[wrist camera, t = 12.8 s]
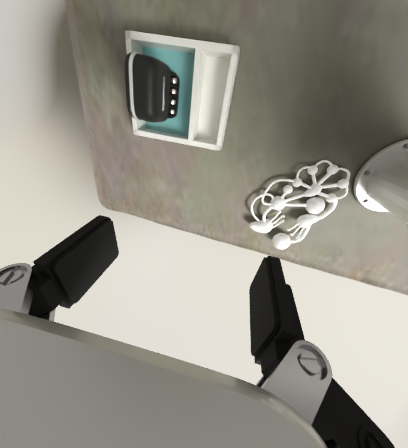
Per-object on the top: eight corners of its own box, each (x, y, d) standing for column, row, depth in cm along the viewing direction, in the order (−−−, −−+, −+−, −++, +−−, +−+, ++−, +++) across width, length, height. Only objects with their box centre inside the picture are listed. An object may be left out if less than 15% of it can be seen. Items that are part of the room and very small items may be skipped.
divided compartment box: (239, 54, 26) (239, 45, 22) (222, 147, 33) (220, 150, 30) (139, 40, 27) (124, 30, 24) (144, 132, 34) (133, 134, 31)
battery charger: (181, 122, 32) (153, 126, 22) (161, 117, 32) (126, 119, 22) (185, 72, 28) (155, 52, 18) (163, 67, 28) (121, 45, 18)
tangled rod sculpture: (309, 138, 31) (317, 139, 27) (365, 189, 32) (378, 196, 29) (237, 211, 41) (236, 219, 37) (282, 247, 42) (285, 258, 39)
